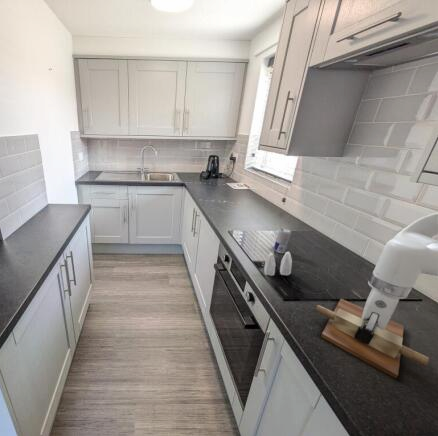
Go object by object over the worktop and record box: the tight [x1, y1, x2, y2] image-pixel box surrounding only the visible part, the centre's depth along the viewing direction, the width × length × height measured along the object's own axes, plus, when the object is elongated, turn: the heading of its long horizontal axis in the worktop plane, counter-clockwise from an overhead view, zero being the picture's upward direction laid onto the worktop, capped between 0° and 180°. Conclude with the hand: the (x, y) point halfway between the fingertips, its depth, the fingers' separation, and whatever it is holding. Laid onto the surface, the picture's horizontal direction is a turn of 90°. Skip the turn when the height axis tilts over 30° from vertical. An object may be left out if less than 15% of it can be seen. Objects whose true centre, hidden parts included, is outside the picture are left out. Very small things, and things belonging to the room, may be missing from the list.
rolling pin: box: [314, 304, 430, 367], centre depth 67 cm, size 24×4×4 cm, turn 41°
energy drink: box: [273, 227, 292, 254], centre depth 115 cm, size 5×5×12 cm
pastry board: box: [320, 298, 405, 379], centre depth 70 cm, size 24×16×2 cm, turn 131°
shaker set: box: [263, 251, 293, 277], centre depth 97 cm, size 12×4×11 cm, turn 89°
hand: (363, 335), depth 67 cm, fingers closed on rolling pin, 4 cm apart
